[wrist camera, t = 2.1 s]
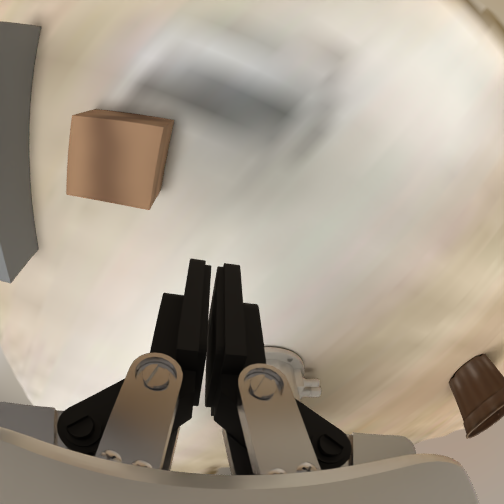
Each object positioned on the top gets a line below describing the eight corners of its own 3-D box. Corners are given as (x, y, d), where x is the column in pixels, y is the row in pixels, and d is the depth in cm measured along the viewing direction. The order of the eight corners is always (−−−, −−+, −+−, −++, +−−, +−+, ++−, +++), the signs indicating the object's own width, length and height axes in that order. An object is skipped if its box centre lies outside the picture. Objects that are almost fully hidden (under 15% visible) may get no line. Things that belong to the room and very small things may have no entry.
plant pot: (486, 339, 49) (519, 391, 35) (497, 355, 55) (523, 399, 41) (433, 384, 55) (459, 438, 41) (452, 393, 61) (474, 438, 47)
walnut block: (174, 119, 25) (163, 127, 20) (161, 189, 28) (149, 210, 24) (96, 108, 23) (72, 115, 19) (88, 176, 26) (66, 194, 22)
